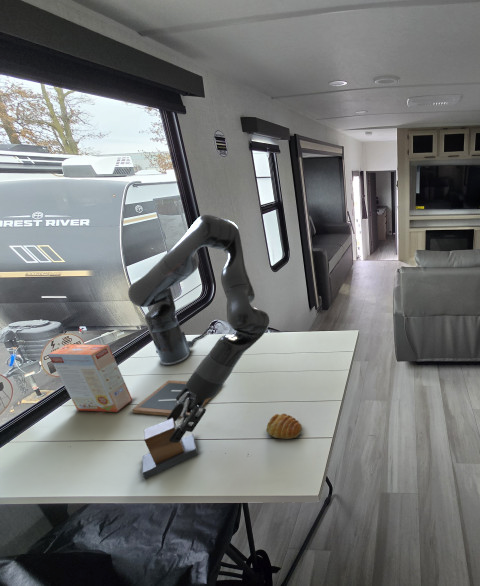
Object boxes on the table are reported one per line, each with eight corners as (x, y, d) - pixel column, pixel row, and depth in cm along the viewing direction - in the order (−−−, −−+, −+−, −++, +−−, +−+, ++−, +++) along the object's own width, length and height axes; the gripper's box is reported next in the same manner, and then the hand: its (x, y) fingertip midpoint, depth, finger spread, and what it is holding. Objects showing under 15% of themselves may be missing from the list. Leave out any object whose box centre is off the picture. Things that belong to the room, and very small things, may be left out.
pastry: (307, 425, 87) (305, 415, 86) (293, 444, 81) (291, 434, 80) (279, 418, 90) (277, 408, 89) (264, 436, 84) (261, 426, 83)
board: (169, 383, 107) (168, 380, 107) (221, 387, 104) (220, 384, 104) (133, 412, 94) (131, 409, 94) (191, 418, 91) (190, 414, 91)
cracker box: (134, 399, 100) (109, 343, 92) (117, 413, 94) (89, 355, 86) (95, 397, 101) (68, 342, 93) (76, 411, 96) (45, 353, 88)
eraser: (145, 461, 78) (131, 431, 74) (194, 439, 84) (184, 410, 80) (145, 479, 74) (130, 448, 70) (197, 454, 80) (186, 424, 76)
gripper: (231, 392, 76) (190, 451, 74) (220, 366, 87) (184, 416, 85) (200, 384, 71) (156, 447, 69) (193, 357, 82) (154, 410, 80)
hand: (172, 430), depth 77 cm, fingers open, 8 cm apart
